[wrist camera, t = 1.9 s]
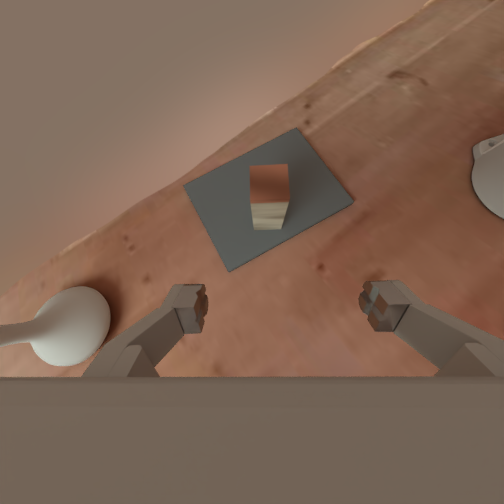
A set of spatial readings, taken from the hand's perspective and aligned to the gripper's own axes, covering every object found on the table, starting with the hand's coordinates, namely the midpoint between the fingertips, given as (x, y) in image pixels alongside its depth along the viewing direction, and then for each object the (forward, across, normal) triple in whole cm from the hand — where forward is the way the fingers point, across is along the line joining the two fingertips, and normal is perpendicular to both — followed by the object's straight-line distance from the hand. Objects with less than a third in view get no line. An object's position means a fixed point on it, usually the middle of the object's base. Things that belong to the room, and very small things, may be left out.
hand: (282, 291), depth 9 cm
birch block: (+22, 0, +4) cm, 23 cm away
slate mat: (+26, 0, +2) cm, 26 cm away
